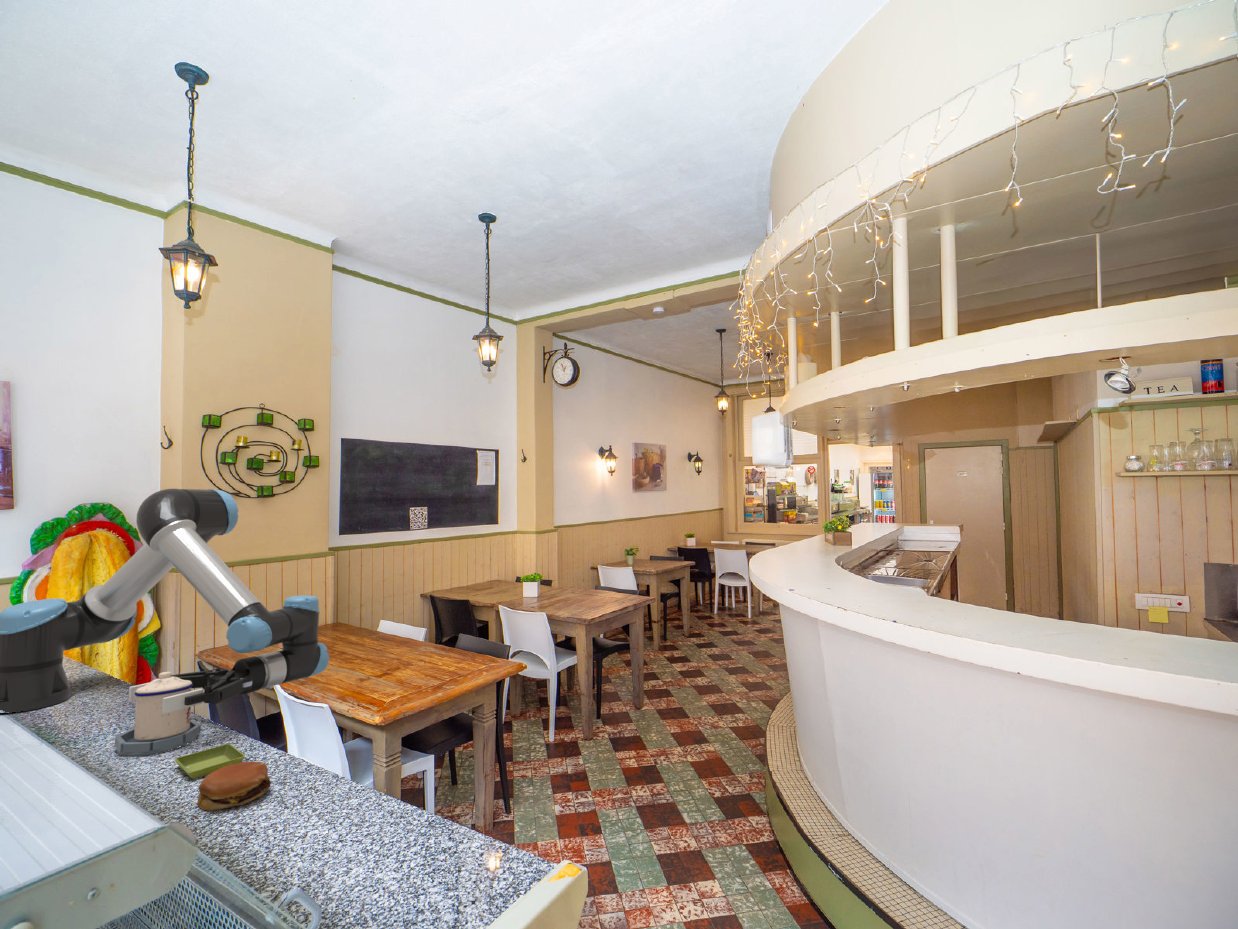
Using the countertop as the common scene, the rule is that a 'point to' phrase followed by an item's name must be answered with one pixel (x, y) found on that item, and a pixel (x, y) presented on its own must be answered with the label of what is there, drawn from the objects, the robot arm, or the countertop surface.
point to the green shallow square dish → (209, 760)
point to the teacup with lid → (160, 709)
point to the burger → (233, 785)
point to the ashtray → (154, 742)
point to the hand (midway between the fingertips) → (145, 700)
